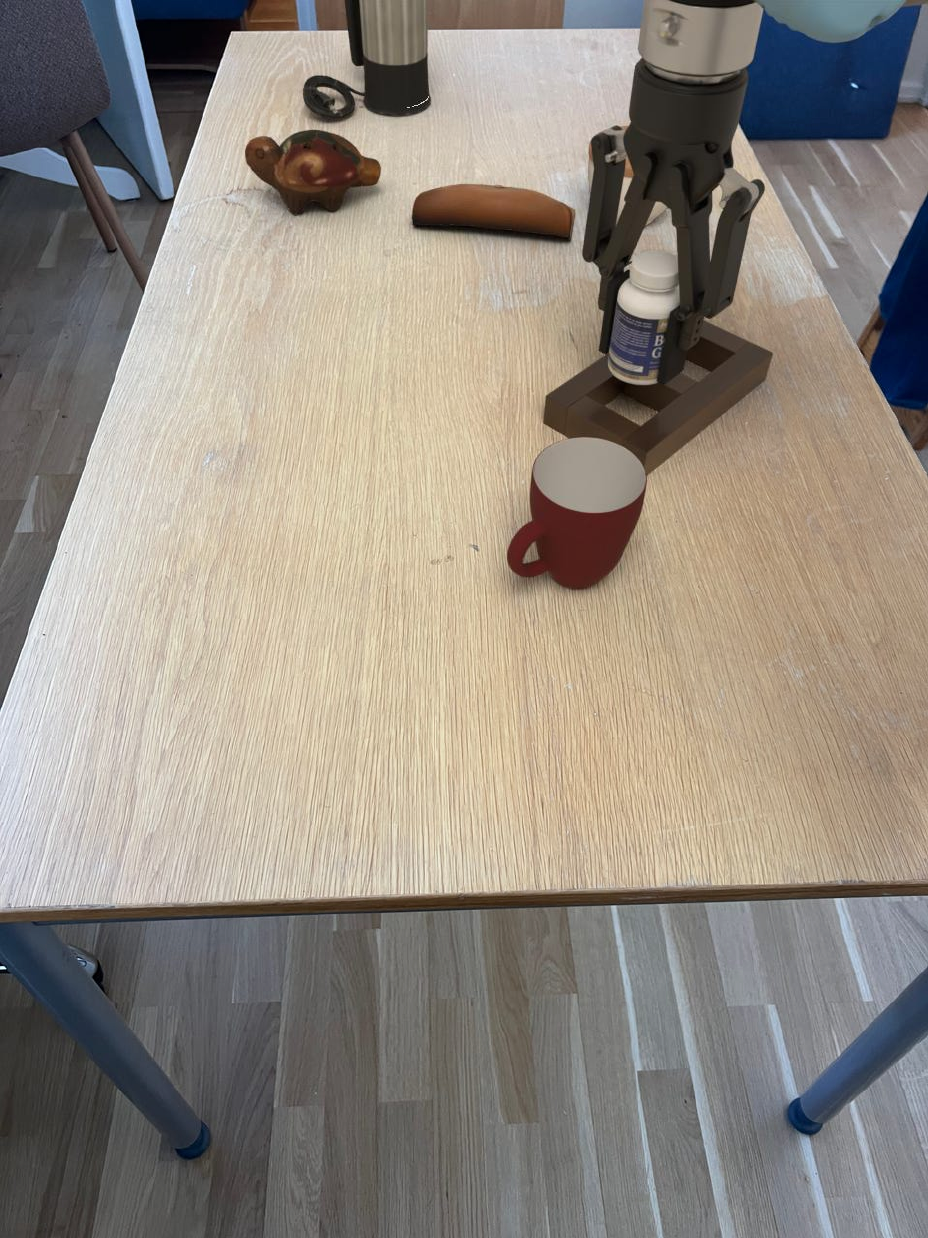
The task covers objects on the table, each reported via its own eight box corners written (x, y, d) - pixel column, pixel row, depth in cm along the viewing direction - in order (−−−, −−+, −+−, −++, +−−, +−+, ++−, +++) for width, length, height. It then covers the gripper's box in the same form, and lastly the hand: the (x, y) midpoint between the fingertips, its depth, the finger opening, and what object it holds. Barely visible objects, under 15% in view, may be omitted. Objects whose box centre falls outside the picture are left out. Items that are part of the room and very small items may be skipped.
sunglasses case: (577, 204, 109) (579, 168, 103) (569, 260, 108) (571, 227, 102) (425, 191, 111) (417, 154, 105) (416, 246, 110) (408, 212, 104)
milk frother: (445, 98, 129) (443, -28, 118) (378, 141, 121) (370, 10, 109) (361, 76, 134) (352, -48, 123) (291, 116, 125) (274, -13, 114)
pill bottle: (653, 395, 78) (674, 288, 71) (596, 373, 80) (610, 267, 73) (680, 362, 81) (703, 256, 74) (624, 342, 83) (641, 237, 75)
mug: (553, 645, 68) (565, 549, 61) (478, 583, 72) (481, 486, 65) (649, 574, 73) (671, 477, 65) (574, 519, 77) (587, 421, 69)
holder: (765, 379, 89) (773, 352, 87) (641, 480, 80) (647, 452, 78) (670, 333, 94) (675, 306, 92) (542, 422, 85) (545, 395, 82)
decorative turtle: (244, 193, 112) (236, 120, 106) (368, 183, 116) (367, 113, 110) (258, 228, 105) (250, 153, 100) (389, 217, 109) (389, 144, 104)
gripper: (549, 40, 64) (529, 335, 82) (784, 121, 56) (705, 429, 74) (616, 12, 68) (583, 301, 86) (847, 85, 60) (757, 387, 78)
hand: (640, 360), depth 80 cm, fingers closed on pill bottle, 5 cm apart
